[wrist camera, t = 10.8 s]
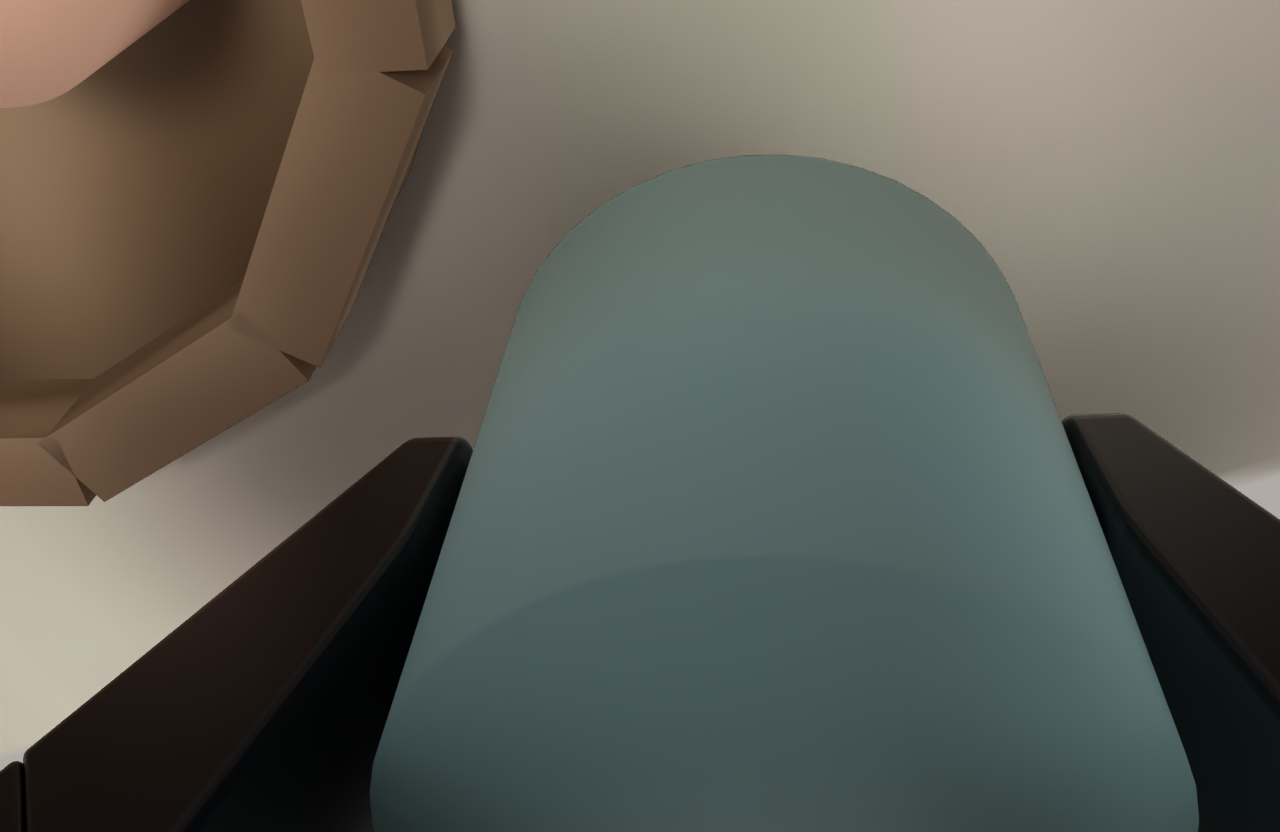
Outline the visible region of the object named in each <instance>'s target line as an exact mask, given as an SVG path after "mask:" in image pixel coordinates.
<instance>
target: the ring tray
mask: <svg viewBox="0 0 1280 832" xmlns="http://www.w3.org/2000/svg"><path fill="white" fill-rule="evenodd" d="M455 28H456V26H455V19H454V13H453V7H452V1H451V0H189V1H188V2H187V3H185V4H184V5H183V6H181V7H180V8H179V9H177V10H176V11H175V12H173V13H172V14H171V15H169V16H168V17H167V18H165V19H164V20H163V21H161V22H160V23H159V24H158V25H156V26H155V27H154V28H152V29H151V30H150V31H148V32H147V33H146V34H144V35H143V36H142V37H140V38H139V39H138V40H136V41H135V42H134V43H132V44H131V45H130V46H128V47H127V48H126V49H124V50H123V51H122V52H120V53H119V54H118V55H116V56H115V57H114V58H113V59H111V60H110V61H109V62H107V63H106V64H105V65H103V66H102V67H101V68H99V69H98V70H97V71H95V72H94V73H93V74H91V75H90V76H89V77H87V78H86V79H85V80H83V81H82V82H81V83H79V84H78V85H76V86H75V87H73V88H72V89H71V90H69V91H68V92H66V93H64V94H62V95H60V96H58V97H56V98H53V99H51V100H49V101H46V102H42V103H38V104H35V105H31V106H24V107H16V108H0V506H88V505H89V504H90V503H91V501H92V500H93V499H94V497H95V496H96V495H97V496H98V497H99V498H101V499H102V500H103V501H104V502H105V501H107V500H109V499H110V498H112V497H114V496H115V495H117V494H119V493H120V492H122V491H124V490H125V489H127V488H129V487H130V486H132V485H134V484H135V483H137V482H139V481H140V480H142V479H144V478H146V477H147V476H149V475H151V474H152V473H154V472H156V471H157V470H159V469H161V468H162V467H164V466H166V465H167V464H169V463H171V462H172V461H174V460H176V459H177V458H179V457H181V456H183V455H184V454H186V453H188V452H189V451H191V450H193V449H194V448H196V447H198V446H199V445H201V444H203V443H204V442H206V441H208V440H209V439H211V438H213V437H214V436H216V435H218V434H220V433H221V432H223V431H225V430H226V429H228V428H230V427H231V426H233V425H235V424H236V423H238V422H240V421H241V420H243V419H245V418H246V417H248V416H250V415H251V414H253V413H255V412H256V411H258V410H260V409H262V408H263V407H265V406H267V405H268V404H270V403H272V402H273V401H275V400H277V399H278V398H280V397H282V396H283V395H285V394H287V393H288V392H290V391H292V390H293V389H295V388H297V387H299V386H300V385H302V384H304V383H305V382H307V381H308V380H309V379H310V377H311V375H312V373H313V371H314V370H315V368H316V366H317V367H320V366H321V364H322V363H323V361H324V359H325V357H326V355H327V353H328V352H329V350H330V348H331V346H332V344H333V342H334V341H335V339H336V337H337V335H338V333H339V332H340V330H341V328H342V326H343V324H344V322H345V321H346V319H347V317H348V315H349V313H350V311H351V310H352V307H353V305H354V302H355V300H356V297H357V294H358V292H359V289H360V287H361V284H362V282H363V279H364V277H365V274H366V272H367V269H368V267H369V264H370V261H371V259H372V256H373V254H374V251H375V249H376V246H377V244H378V241H379V239H380V236H381V233H382V231H383V228H384V226H385V223H386V221H387V218H388V216H389V213H390V211H391V208H392V206H393V204H394V202H395V200H396V198H397V196H398V194H399V192H400V190H401V188H402V186H403V184H404V182H405V180H406V178H407V176H408V174H409V172H410V169H411V166H412V163H413V160H414V157H415V154H416V150H417V147H418V144H419V141H420V138H421V134H422V131H423V128H424V125H425V122H426V119H427V117H428V114H429V112H430V109H431V107H432V104H433V101H434V99H435V96H436V94H437V91H438V89H439V86H440V84H441V81H442V79H443V76H444V74H445V71H446V68H447V66H448V63H449V61H450V58H451V56H452V53H453V50H451V49H449V48H447V47H445V46H444V44H445V43H446V41H447V40H448V38H449V37H450V35H451V34H452V32H453V31H454V29H455Z"/></svg>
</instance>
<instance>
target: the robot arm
mask: <svg viewBox="0 0 1280 832" xmlns="http://www.w3.org/2000/svg"><path fill="white" fill-rule="evenodd" d="M1062 424H1063V427H1064V430H1065V432H1066V435H1067V438H1068V440H1069V443H1070V446H1071V448H1072V451H1073V454H1074V456H1075V459H1076V462H1077V464H1078V467H1079V470H1080V472H1081V475H1082V478H1083V480H1084V483H1085V486H1086V488H1087V491H1088V494H1089V496H1090V499H1091V502H1092V504H1093V507H1094V510H1095V512H1096V515H1097V518H1098V520H1099V523H1100V526H1101V528H1102V531H1103V534H1104V536H1105V539H1106V542H1107V544H1108V547H1109V550H1110V552H1111V555H1112V558H1113V560H1114V563H1115V566H1116V568H1117V571H1118V574H1119V576H1120V579H1121V582H1122V584H1123V587H1124V590H1125V592H1126V595H1127V598H1128V600H1129V603H1130V606H1131V609H1132V611H1133V614H1134V617H1135V619H1136V622H1137V625H1138V627H1139V630H1140V633H1141V635H1142V638H1143V641H1144V643H1145V646H1146V649H1147V651H1148V654H1149V657H1150V659H1151V662H1152V665H1153V667H1154V670H1155V673H1156V675H1157V678H1158V681H1159V683H1160V686H1161V689H1162V691H1163V694H1164V697H1165V699H1166V702H1167V705H1168V707H1169V710H1170V713H1171V715H1172V718H1173V721H1174V723H1175V726H1176V729H1177V731H1178V734H1179V737H1180V739H1181V742H1182V745H1183V747H1184V750H1185V753H1186V756H1187V759H1188V762H1189V765H1190V768H1191V771H1192V775H1193V778H1194V781H1195V784H1196V789H1197V801H1198V812H1199V826H1198V832H1280V519H1278V518H1277V517H1275V516H1274V515H1272V514H1271V513H1269V512H1268V511H1267V510H1265V509H1264V508H1262V507H1261V506H1259V505H1258V504H1257V503H1255V502H1254V501H1252V500H1251V499H1249V498H1248V497H1247V496H1245V495H1243V494H1242V493H1241V492H1239V491H1238V490H1237V489H1235V488H1234V487H1232V486H1231V485H1229V484H1228V483H1226V482H1225V481H1224V480H1222V479H1221V478H1219V477H1218V476H1216V475H1215V474H1214V473H1212V472H1211V471H1209V470H1208V469H1206V468H1205V467H1204V466H1202V465H1201V464H1199V463H1198V462H1196V461H1195V460H1193V459H1192V458H1191V457H1189V456H1188V455H1186V454H1185V453H1183V452H1182V451H1181V450H1179V449H1178V448H1176V447H1175V446H1173V445H1172V444H1171V443H1169V442H1168V441H1166V440H1165V439H1163V438H1162V437H1161V436H1159V435H1158V434H1156V433H1155V432H1153V431H1152V430H1150V429H1149V428H1148V427H1146V426H1145V425H1143V424H1142V423H1140V422H1139V421H1138V420H1136V419H1134V418H1133V417H1131V416H1129V415H1126V414H1121V413H1114V414H1087V415H1071V416H1068V417H1066V418H1065V419H1064V420H1063V421H1062ZM472 453H473V450H472V448H471V446H470V444H469V442H467V441H466V440H465V439H464V438H462V437H430V438H414V439H411V440H409V441H407V442H406V443H404V444H403V445H401V446H400V447H399V448H398V449H396V450H395V451H394V452H393V453H391V454H390V455H389V456H388V457H387V458H385V459H384V460H383V461H382V462H380V463H379V464H378V465H377V466H375V467H374V468H373V469H372V470H371V471H369V472H368V473H367V474H366V475H364V476H363V477H362V478H361V479H360V480H358V481H357V482H356V483H355V484H353V485H352V486H351V487H350V488H348V489H347V490H346V491H345V492H344V493H342V494H341V495H340V496H339V497H337V498H336V499H335V500H334V501H332V502H331V503H330V504H329V505H328V506H326V507H325V508H324V509H323V510H321V511H320V512H319V513H318V514H317V515H315V516H314V517H313V518H312V519H310V520H309V521H308V522H307V523H305V524H304V525H303V526H302V527H301V528H299V529H298V530H297V531H296V532H294V533H293V534H292V535H291V536H289V537H288V538H287V539H286V540H285V541H283V542H282V543H281V544H280V545H278V546H277V547H276V548H275V549H274V550H272V551H271V552H270V553H269V554H267V555H266V556H265V557H264V558H262V559H261V560H260V561H259V562H258V563H256V564H255V565H254V566H253V567H251V568H250V569H249V570H248V571H246V572H245V573H244V574H243V575H242V576H240V577H239V578H238V579H237V580H235V581H234V582H233V583H232V584H231V585H229V586H228V587H227V588H226V589H224V590H223V591H222V592H221V593H219V594H218V595H217V596H216V597H215V598H213V599H212V600H211V601H210V602H208V603H207V604H206V605H205V606H203V607H202V608H201V609H200V610H199V611H197V612H196V613H195V614H194V615H192V616H191V617H190V618H189V619H188V620H186V621H185V622H184V623H183V624H181V625H180V626H179V627H178V628H176V629H175V630H174V631H173V632H172V633H170V634H169V635H168V636H167V637H165V638H164V639H163V640H162V641H160V642H159V643H158V644H157V645H156V646H154V647H153V648H152V649H151V650H149V651H148V652H147V653H146V654H145V655H143V656H142V657H141V658H140V659H138V660H137V661H136V662H135V663H133V664H132V665H131V666H130V667H129V668H127V669H126V670H125V671H124V672H122V673H121V674H120V675H119V676H118V677H116V678H115V679H114V680H113V681H111V682H110V683H109V684H108V685H106V686H105V687H104V688H103V689H102V690H100V691H99V692H98V693H97V694H95V695H94V696H93V697H92V698H90V699H89V700H88V701H87V702H86V703H84V704H83V705H82V706H81V707H79V708H78V709H77V710H76V711H74V712H73V713H72V714H71V715H70V716H68V717H67V718H66V719H65V720H63V721H62V722H61V723H60V724H58V725H57V726H56V727H55V728H54V729H52V730H51V731H50V732H49V733H47V734H46V735H45V736H44V737H42V738H41V739H40V740H39V741H38V742H36V743H35V744H34V745H33V746H31V747H30V748H29V749H28V750H27V751H26V752H25V754H24V757H23V763H22V762H19V761H15V762H12V763H10V764H9V765H8V766H6V767H5V768H4V769H3V770H1V771H0V832H374V829H373V824H372V815H371V805H370V786H371V777H372V768H373V761H374V758H375V755H376V752H377V749H378V746H379V743H380V739H381V736H382V733H383V730H384V727H385V724H386V721H387V718H388V715H389V711H390V708H391V705H392V702H393V699H394V696H395V693H396V690H397V686H398V683H399V680H400V677H401V674H402V671H403V668H404V665H405V662H406V658H407V655H408V652H409V649H410V646H411V643H412V640H413V637H414V633H415V630H416V627H417V624H418V621H419V618H420V615H421V612H422V609H423V605H424V602H425V599H426V596H427V593H428V590H429V587H430V584H431V580H432V577H433V574H434V571H435V568H436V565H437V562H438V559H439V555H440V552H441V549H442V546H443V543H444V540H445V537H446V534H447V531H448V527H449V524H450V521H451V518H452V515H453V512H454V509H455V506H456V502H457V499H458V496H459V493H460V490H461V487H462V484H463V481H464V478H465V474H466V471H467V468H468V465H469V462H470V459H471V456H472Z"/></svg>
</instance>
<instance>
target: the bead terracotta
mask: <svg viewBox="0 0 1280 832" xmlns="http://www.w3.org/2000/svg"><path fill="white" fill-rule="evenodd" d="M188 1H189V0H0V108H16V107H24V106H31V105H35V104H38V103H42V102H46V101H49V100H51V99H53V98H56V97H58V96H60V95H62V94H64V93H66V92H68V91H69V90H71V89H72V88H73V87H75V86H76V85H78V84H79V83H81V82H82V81H83V80H85V79H86V78H87V77H89V76H90V75H91V74H93V73H94V72H95V71H97V70H98V69H99V68H101V67H102V66H103V65H105V64H106V63H107V62H109V61H110V60H111V59H113V58H114V57H115V56H116V55H118V54H119V53H120V52H122V51H123V50H124V49H126V48H127V47H128V46H130V45H131V44H132V43H134V42H135V41H136V40H138V39H139V38H140V37H142V36H143V35H144V34H146V33H147V32H148V31H150V30H151V29H152V28H154V27H155V26H156V25H158V24H159V23H160V22H161V21H163V20H164V19H165V18H167V17H168V16H169V15H171V14H172V13H173V12H175V11H176V10H177V9H179V8H180V7H181V6H183V5H184V4H185V3H187V2H188Z"/></svg>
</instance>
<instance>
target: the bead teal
mask: <svg viewBox="0 0 1280 832" xmlns="http://www.w3.org/2000/svg"><path fill="white" fill-rule="evenodd" d="M370 805H371V815H372V824H373V829H374V832H1198V826H1199V812H1198V801H1197V789H1196V784H1195V781H1194V778H1193V775H1192V771H1191V768H1190V765H1189V762H1188V759H1187V756H1186V753H1185V750H1184V747H1183V745H1182V742H1181V739H1180V737H1179V734H1178V731H1177V729H1176V726H1175V723H1174V721H1173V718H1172V715H1171V713H1170V710H1169V707H1168V705H1167V702H1166V699H1165V697H1164V694H1163V691H1162V689H1161V686H1160V683H1159V681H1158V678H1157V675H1156V673H1155V670H1154V667H1153V665H1152V662H1151V659H1150V657H1149V654H1148V651H1147V649H1146V646H1145V643H1144V641H1143V638H1142V635H1141V633H1140V630H1139V627H1138V625H1137V622H1136V619H1135V617H1134V614H1133V611H1132V609H1131V606H1130V603H1129V600H1128V598H1127V595H1126V592H1125V590H1124V587H1123V584H1122V582H1121V579H1120V576H1119V574H1118V571H1117V568H1116V566H1115V563H1114V560H1113V558H1112V555H1111V552H1110V550H1109V547H1108V544H1107V542H1106V539H1105V536H1104V534H1103V531H1102V528H1101V526H1100V523H1099V520H1098V518H1097V515H1096V512H1095V510H1094V507H1093V504H1092V502H1091V499H1090V496H1089V494H1088V491H1087V488H1086V486H1085V483H1084V480H1083V478H1082V475H1081V472H1080V470H1079V467H1078V464H1077V462H1076V459H1075V456H1074V454H1073V451H1072V448H1071V446H1070V443H1069V440H1068V438H1067V435H1066V432H1065V430H1064V427H1063V424H1062V422H1061V419H1060V416H1059V414H1058V411H1057V408H1056V406H1055V403H1054V400H1053V398H1052V395H1051V392H1050V390H1049V387H1048V384H1047V382H1046V379H1045V376H1044V374H1043V371H1042V368H1041V366H1040V363H1039V360H1038V358H1037V355H1036V352H1035V350H1034V347H1033V344H1032V342H1031V339H1030V336H1029V334H1028V331H1027V328H1026V326H1025V323H1024V320H1023V318H1022V315H1021V312H1020V310H1019V307H1018V304H1017V302H1016V299H1015V296H1014V294H1013V292H1012V290H1011V289H1010V287H1009V285H1008V283H1007V281H1006V279H1005V277H1004V275H1003V273H1002V272H1001V270H1000V268H999V267H998V265H997V264H996V263H995V261H994V260H993V259H992V257H991V256H990V255H989V253H988V252H987V251H986V249H985V248H984V247H983V245H982V244H981V243H980V241H978V240H977V239H976V238H975V237H974V236H973V235H972V234H971V233H970V232H969V231H968V230H967V229H966V228H965V227H964V226H963V225H962V224H961V223H960V222H959V221H958V220H957V219H956V218H955V217H953V216H952V215H951V214H949V213H948V212H946V211H945V210H944V209H942V208H941V207H939V206H938V205H937V204H935V203H934V202H933V201H931V200H930V199H928V198H927V197H925V196H923V195H921V194H920V193H918V192H916V191H914V190H912V189H910V188H908V187H906V186H905V185H903V184H901V183H899V182H897V181H895V180H893V179H890V178H887V177H885V176H882V175H879V174H876V173H874V172H871V171H868V170H866V169H863V168H860V167H857V166H852V165H848V164H843V163H839V162H835V161H830V160H826V159H822V158H812V157H802V156H792V155H744V156H738V157H731V158H724V159H717V160H710V161H705V162H701V163H697V164H694V165H690V166H687V167H683V168H679V169H676V170H672V171H669V172H666V173H664V174H662V175H659V176H657V177H654V178H652V179H650V180H647V181H645V182H642V183H640V184H638V185H635V186H634V187H632V188H630V189H628V190H627V191H625V192H623V193H622V194H620V195H618V196H616V197H615V198H613V199H611V200H609V201H608V202H606V203H604V204H603V205H602V206H600V207H599V208H598V209H597V210H595V211H594V212H593V213H591V214H590V215H589V216H588V217H586V218H585V219H584V220H582V221H581V222H580V223H578V224H577V225H576V226H575V227H574V228H573V229H572V230H571V231H570V232H569V233H568V234H567V236H566V237H565V238H564V239H563V240H562V241H561V242H560V243H559V244H558V245H557V246H556V247H555V248H554V249H553V250H552V252H551V253H550V255H549V256H548V257H547V259H546V260H545V261H544V263H543V264H542V266H541V267H540V268H539V270H538V271H537V273H536V274H535V276H534V278H533V280H532V282H531V284H530V286H529V287H528V289H527V291H526V293H525V295H524V297H523V299H522V301H521V304H520V307H519V310H518V313H517V316H516V319H515V322H514V325H513V328H512V331H511V334H510V337H509V340H508V343H507V347H506V350H505V353H504V356H503V359H502V362H501V365H500V368H499V372H498V375H497V378H496V381H495V384H494V387H493V390H492V393H491V396H490V400H489V403H488V406H487V409H486V412H485V415H484V418H483V421H482V425H481V428H480V431H479V434H478V437H477V440H476V443H475V446H474V449H473V453H472V456H471V459H470V462H469V465H468V468H467V471H466V474H465V478H464V481H463V484H462V487H461V490H460V493H459V496H458V499H457V502H456V506H455V509H454V512H453V515H452V518H451V521H450V524H449V527H448V531H447V534H446V537H445V540H444V543H443V546H442V549H441V552H440V555H439V559H438V562H437V565H436V568H435V571H434V574H433V577H432V580H431V584H430V587H429V590H428V593H427V596H426V599H425V602H424V605H423V609H422V612H421V615H420V618H419V621H418V624H417V627H416V630H415V633H414V637H413V640H412V643H411V646H410V649H409V652H408V655H407V658H406V662H405V665H404V668H403V671H402V674H401V677H400V680H399V683H398V686H397V690H396V693H395V696H394V699H393V702H392V705H391V708H390V711H389V715H388V718H387V721H386V724H385V727H384V730H383V733H382V736H381V739H380V743H379V746H378V749H377V752H376V755H375V758H374V761H373V768H372V777H371V786H370Z"/></svg>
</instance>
